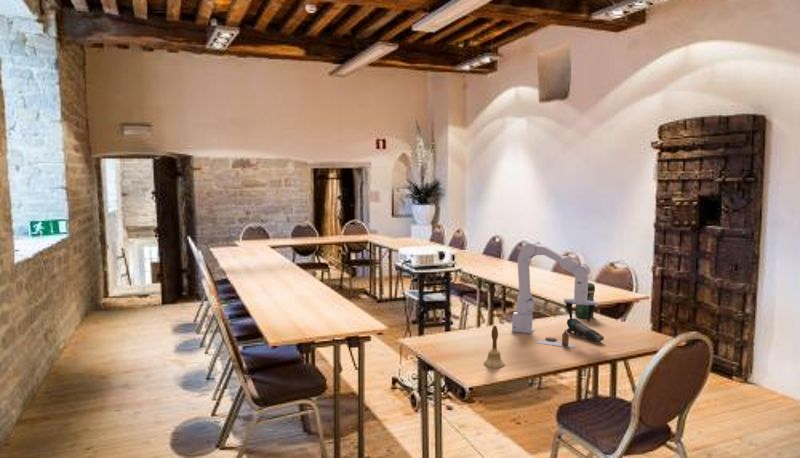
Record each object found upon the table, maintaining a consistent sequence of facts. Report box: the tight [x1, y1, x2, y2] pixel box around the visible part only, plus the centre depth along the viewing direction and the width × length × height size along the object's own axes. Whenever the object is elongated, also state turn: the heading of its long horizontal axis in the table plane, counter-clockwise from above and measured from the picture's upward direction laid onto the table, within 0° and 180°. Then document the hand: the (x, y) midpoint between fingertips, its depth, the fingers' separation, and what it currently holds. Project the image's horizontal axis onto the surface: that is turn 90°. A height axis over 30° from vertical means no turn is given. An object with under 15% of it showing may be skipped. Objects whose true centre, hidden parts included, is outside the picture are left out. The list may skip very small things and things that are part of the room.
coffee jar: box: [574, 282, 596, 319], centre depth 284 cm, size 10×8×19 cm
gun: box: [566, 317, 605, 344], centre depth 248 cm, size 4×20×10 cm, turn 25°
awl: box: [561, 329, 570, 346], centre depth 236 cm, size 3×3×7 cm
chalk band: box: [536, 340, 576, 349], centre depth 238 cm, size 16×4×1 cm, turn 66°
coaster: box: [545, 337, 558, 342], centre depth 244 cm, size 5×5×1 cm
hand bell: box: [483, 325, 505, 369], centre depth 211 cm, size 8×8×16 cm
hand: (579, 320), depth 241 cm, fingers open, 7 cm apart
